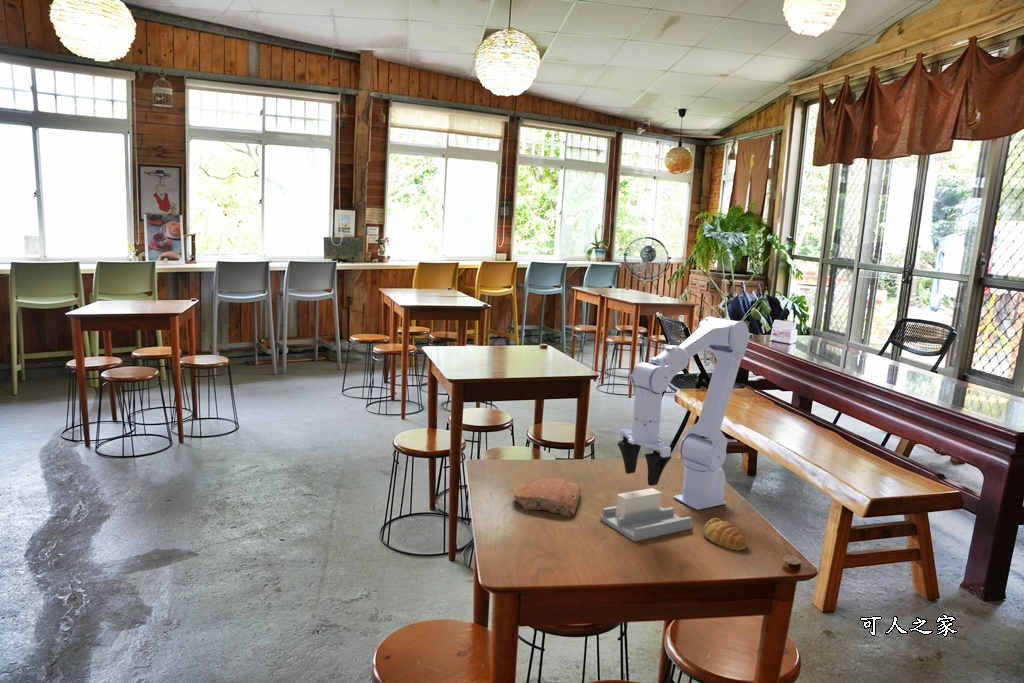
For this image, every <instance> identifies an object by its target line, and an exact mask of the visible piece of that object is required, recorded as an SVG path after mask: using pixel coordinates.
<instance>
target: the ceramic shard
mask: <svg viewBox="0 0 1024 683" xmlns="http://www.w3.org/2000/svg"><path fill="white" fill-rule="evenodd" d="M581 490H582V489H581V487H580V485H579V484H578V483H576V482H575V481H571V480H569V479H565V478H540V479H534V480H532V481H528V482H527V481H526V482H524V483H522V484H519V485H516V486H515V488H514V489H513V498H514V499H515V501H516V503H518V504H519V505H520V506H522V508H523V509H524V510H528V511H530V510H532V511H533V510H535V511H540V510H541V511H548V512H549V513H553V514H558V515H562V516H566V517H568V518H571V517H573V516H574V515H575V512H576V510H577V507H578V504H579V500H580V495H581V492H582V491H581Z"/></svg>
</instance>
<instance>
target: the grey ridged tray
mask: <svg viewBox="0 0 1024 683" xmlns="http://www.w3.org/2000/svg"><path fill="white" fill-rule="evenodd" d="M674 511H675V508H674V507H673V506H671V507H670V506H669V507H666V508H664V507H662V506H660V510H655V511H650V512H645V513H640V514H635V515H630V516H625V517H620V518H618V517H616V505H614V506H609V507H603V508H602V514H601V515H600V517H599V518H600V519H599V520H600V521H602V522H603V523H605V524H607V525H608V526H610V527H611V528H613V529H614V530H616V531H617V532H618V533H620V534H622V535H623V536H625V537H627V538H628V539H629V540H631V541H633V542H639V541H643V540H646V539H651V538H656V537H660V535H661V536H663V535H664V536H665V535H669V534H674V533H677V532H682V531H687V530H691V529H693V523H692V517H691V516H685V517H681V516H678V515H677V514H675V513H674Z"/></svg>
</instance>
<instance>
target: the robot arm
mask: <svg viewBox="0 0 1024 683" xmlns="http://www.w3.org/2000/svg"><path fill="white" fill-rule="evenodd" d="M750 337H751V333H750V331H749V327H748V324H746V322H744V321H742V320H732V319H726V318H719V317H715V316H711V315H709V316H706V317H705V318H704V319H703V320H701V321H700V322H699V324H698V327H697V329H696V330H695V331H694V332H693V333H692V334H691V335H690V336H689V337H687V338H686V339H685V340H684V341H683V342H682V343H681V344H679V345H673V344H672V345H667V346H665V349H664V350H663V351H661V352H660V353H659V354H657V355H656V356H654V357H652V358H651V359H650V360H649V361H648V362H643V361H642V362H640V363H638V364H636V365H635V367H634V368H633V370H632V372H631V374H630V375H629V376H630V377H629V380H630V384H631V386H632V388H633V389H632V394H633V396H634V401H633V403H634V404H633V413H632V415H633V416H632V427H631V429H629V428H624V429H623V428H622V429H620V431H619V438H620V439H622V440H620V441H617V446H618V448H619V450H620V452H621V456H622V460H623V464H624V471H625V474H627V475H630V474H635V472H636V469H637V463H638V457H639V453H640V449H641V447H643V448H645V449H647V450H649V451H651V453H645V454H644V457H645V461H646V464H647V484H648V486H650V487H651V486H658V484H659V481H660V479H661V475H662V473H663V471H664V469H665V467H666V466H667V464H668V463H669V461H670V460H671V458H672V455H671V454H672V451H671V450H672V448H671V447H670V446H669V445H667V444H665V443H664V441H662V440H660V438H659V435H660V434H659V433H660V422H661V410H662V402H663V401H662V400H663V392H665V391H666V390H667V389H668V387H669V385H670V383H671V382H672V380H673V378H674V377H675V376H677V375H678V374H679V373H680V372H682V371H683V370H684V369H686V368H687V366H689V359H690V358H692V357H693V356H695V355H697V354H699V353H700V352H702V351H703V350H705V349H706V348H708V350H709V351H710V352H711V353H712V354H713V355H714V357H715V359H716V361H715V365H714V369H713V371H712V375H711V378H710V381H709V384H708V388H707V391H706V394H705V398H704V401H703V404H702V407H701V410H700V414H699V418H698V421H697V422H696V423H694V424H693V425H690V426H689V427H687V428H686V432H685V434H684V436H683V437H682V439H681V440H680V442H679V444H678V454H679V456H680V458H681V459H682V463H683V464H684V472H683V484H682V492H681V494H677V495H674V496H673V498H674V499H675V500H677V501H679V502H680V503H683V504H685V505H687V506H688V507H690V508H692V509H695V510H697V511H698V510H699V511H700V510H703V509H708V508H713V507H717V506H722V505H726V503H727V501H725V500H724V496H725V488H726V486H725V485H726V473H725V470H724V469H723V467H722V466H723V465H724V464H725V461H726V458H727V447H728V439H727V438H726V436H725V434H724V433H723V432H722V430H721V428H722V426H723V425H722V424H723V421H724V418H725V416H726V412H727V408H728V405H729V402H730V399H731V394H732V392H733V389H734V385H735V383H736V379H737V375H738V371H739V368H740V366H741V362H742V359H744V357H745V354H746V352H747V351H746V350H747V347H748V344H749V340H750ZM703 437H704V438H703Z"/></svg>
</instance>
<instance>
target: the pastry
mask: <svg viewBox="0 0 1024 683" xmlns="http://www.w3.org/2000/svg"><path fill="white" fill-rule="evenodd" d="M702 533H703V535H704V536H705V538H706V539H707V540H708V539H709V540H710V541H711V543H714V544H717V545H719V546H720V545H721V546H720V547H723V546H724V547H723V548H726V547H727V548H726V549H728V548H730V549H729V550H735V551H741V550H745V549H746V548H747V547H748V546H749V540H748V539H747V537H746V535H745V534H744V533H743V532H742V530H740V529H739V528H738V527H736V525H735V524H732V523H730V522H729V521H726V520H724V521H723V520H722V519H721V518H719V517H712V518H711V519H709V520H708V521H707V522H706V523H705V525H704V526H703V528H702Z"/></svg>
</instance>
